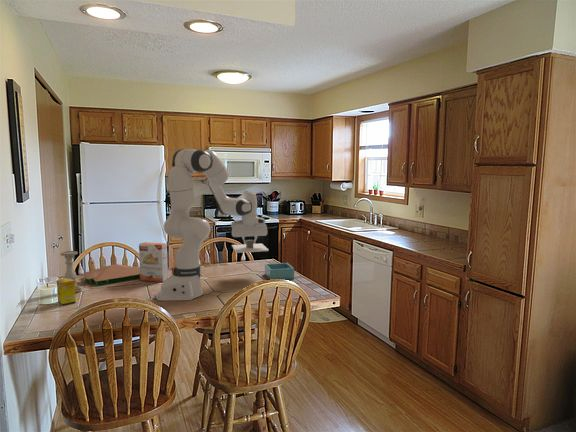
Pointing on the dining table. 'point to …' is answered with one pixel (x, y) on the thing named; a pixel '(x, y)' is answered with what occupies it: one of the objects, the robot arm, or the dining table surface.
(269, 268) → the teal open box
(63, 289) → the supplement box
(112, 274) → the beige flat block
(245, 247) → the lid
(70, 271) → the candle holder
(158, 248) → the cracker box
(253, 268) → the dining table surface
